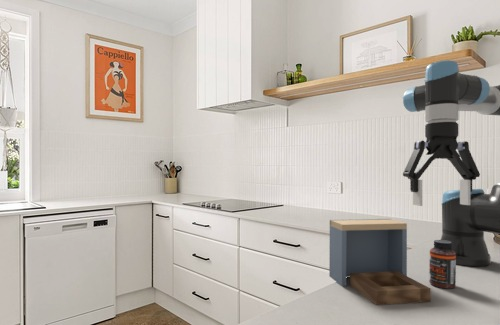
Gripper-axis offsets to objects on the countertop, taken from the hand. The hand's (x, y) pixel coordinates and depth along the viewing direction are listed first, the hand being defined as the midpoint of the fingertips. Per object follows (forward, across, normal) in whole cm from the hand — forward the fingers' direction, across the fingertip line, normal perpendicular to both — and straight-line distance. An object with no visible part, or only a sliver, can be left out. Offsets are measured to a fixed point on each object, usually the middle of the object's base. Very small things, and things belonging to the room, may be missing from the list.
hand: (441, 205), depth 89 cm
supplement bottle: (+21, 0, 0) cm, 21 cm away
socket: (+20, +17, +3) cm, 27 cm away
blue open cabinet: (+20, +17, -7) cm, 27 cm away
